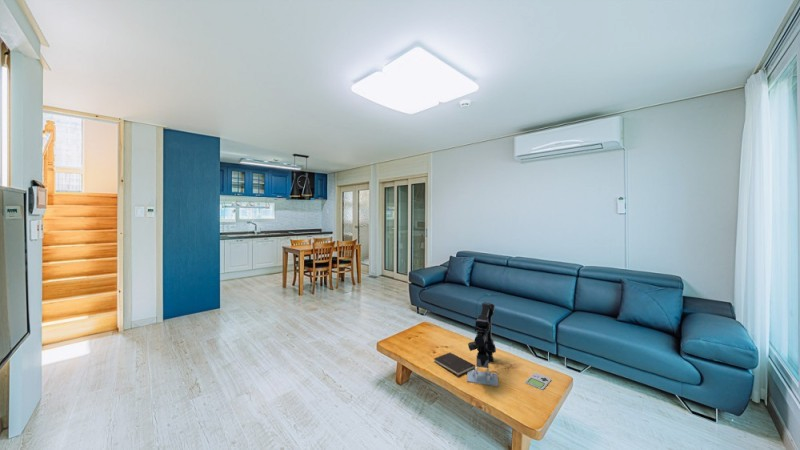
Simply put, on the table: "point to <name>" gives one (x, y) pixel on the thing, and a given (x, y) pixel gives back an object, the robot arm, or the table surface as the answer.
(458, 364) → the hardcover book
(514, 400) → the table surface
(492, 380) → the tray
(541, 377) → the handheld gaming console
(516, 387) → the table surface
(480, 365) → the drive
